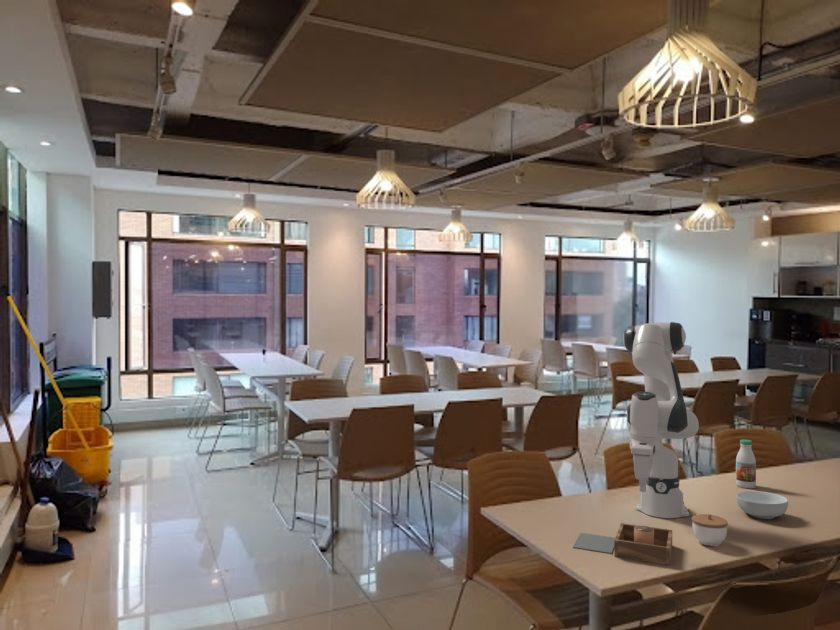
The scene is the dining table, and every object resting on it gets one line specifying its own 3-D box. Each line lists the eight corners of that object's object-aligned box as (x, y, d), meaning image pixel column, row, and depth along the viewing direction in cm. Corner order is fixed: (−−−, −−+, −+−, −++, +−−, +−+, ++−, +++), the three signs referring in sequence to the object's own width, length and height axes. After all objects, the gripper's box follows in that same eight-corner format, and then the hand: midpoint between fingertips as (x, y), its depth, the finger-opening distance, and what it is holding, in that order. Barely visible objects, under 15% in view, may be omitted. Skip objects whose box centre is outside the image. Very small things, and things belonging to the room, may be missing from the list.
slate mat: (580, 533, 213) (580, 532, 213) (617, 538, 208) (617, 538, 208) (572, 547, 201) (572, 546, 201) (611, 553, 196) (611, 552, 196)
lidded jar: (717, 536, 210) (717, 509, 210) (734, 549, 200) (734, 519, 200) (685, 537, 210) (685, 509, 210) (701, 549, 199) (701, 520, 199)
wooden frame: (620, 537, 209) (620, 523, 209) (672, 545, 203) (672, 530, 203) (614, 556, 194) (614, 540, 194) (669, 564, 187) (669, 548, 187)
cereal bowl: (763, 507, 242) (763, 489, 242) (799, 521, 226) (799, 501, 226) (726, 510, 238) (726, 492, 238) (759, 525, 222) (759, 505, 222)
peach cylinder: (634, 546, 202) (635, 524, 202) (654, 549, 200) (654, 527, 200) (633, 552, 197) (633, 530, 197) (653, 555, 194) (653, 533, 194)
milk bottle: (731, 484, 274) (732, 438, 274) (748, 483, 275) (748, 438, 275) (742, 489, 266) (743, 442, 266) (759, 488, 267) (760, 441, 267)
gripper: (637, 437, 209) (636, 478, 209) (630, 449, 190) (630, 494, 190) (657, 438, 206) (657, 480, 206) (652, 451, 187) (652, 497, 187)
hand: (644, 487), depth 198 cm, fingers open, 8 cm apart
